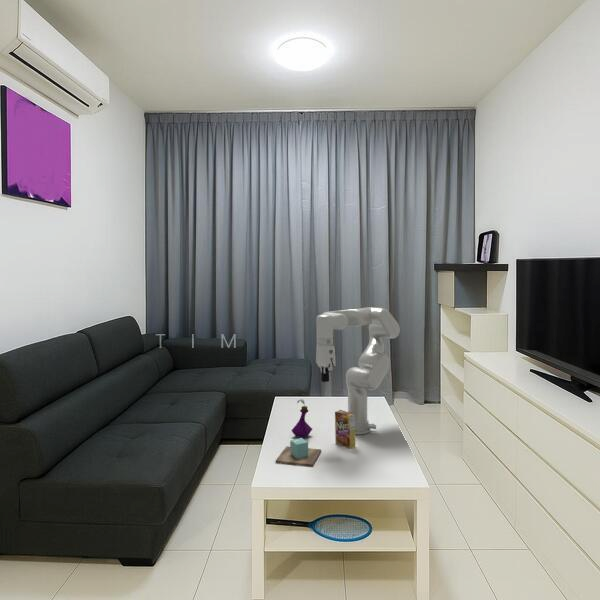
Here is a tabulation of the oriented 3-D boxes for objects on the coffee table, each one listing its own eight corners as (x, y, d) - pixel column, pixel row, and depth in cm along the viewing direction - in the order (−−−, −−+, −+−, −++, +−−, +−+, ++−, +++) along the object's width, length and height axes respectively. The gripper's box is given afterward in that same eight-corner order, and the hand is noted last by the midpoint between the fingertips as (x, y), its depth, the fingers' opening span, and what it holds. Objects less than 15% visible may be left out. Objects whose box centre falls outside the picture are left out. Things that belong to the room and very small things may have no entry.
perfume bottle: (312, 435, 223) (312, 399, 222) (304, 440, 217) (303, 402, 215) (300, 432, 227) (299, 396, 226) (291, 437, 221) (290, 400, 220)
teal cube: (301, 451, 201) (301, 437, 201) (308, 455, 196) (308, 441, 196) (290, 453, 198) (290, 439, 198) (296, 458, 194) (296, 443, 193)
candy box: (334, 443, 212) (334, 411, 211) (340, 441, 215) (340, 409, 214) (349, 448, 206) (349, 415, 205) (355, 446, 209) (355, 413, 208)
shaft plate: (321, 451, 203) (321, 441, 203) (312, 466, 188) (312, 456, 187) (286, 448, 207) (286, 438, 207) (275, 463, 192) (275, 452, 191)
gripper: (341, 343, 205) (341, 383, 206) (322, 338, 218) (323, 377, 219) (327, 344, 201) (327, 386, 202) (309, 340, 214) (309, 379, 215)
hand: (325, 381), depth 211 cm, fingers closed
